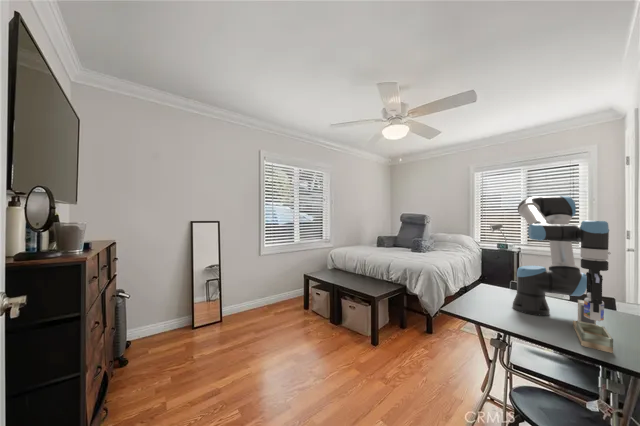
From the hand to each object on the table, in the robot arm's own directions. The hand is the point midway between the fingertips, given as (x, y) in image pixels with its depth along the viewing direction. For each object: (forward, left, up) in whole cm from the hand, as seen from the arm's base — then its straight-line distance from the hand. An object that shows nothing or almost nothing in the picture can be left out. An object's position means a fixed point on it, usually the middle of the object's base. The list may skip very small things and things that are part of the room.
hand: (593, 317), depth 101 cm
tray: (0, +6, -10) cm, 11 cm away
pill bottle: (0, 0, -1) cm, 1 cm away
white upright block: (0, +15, -8) cm, 17 cm away
